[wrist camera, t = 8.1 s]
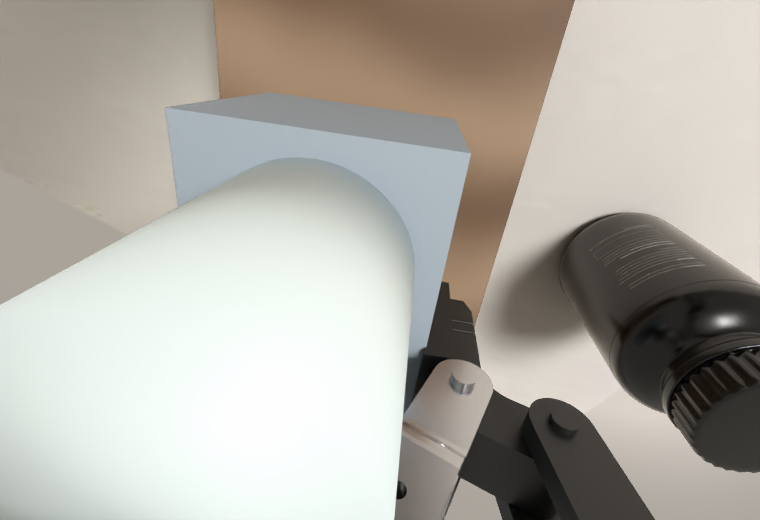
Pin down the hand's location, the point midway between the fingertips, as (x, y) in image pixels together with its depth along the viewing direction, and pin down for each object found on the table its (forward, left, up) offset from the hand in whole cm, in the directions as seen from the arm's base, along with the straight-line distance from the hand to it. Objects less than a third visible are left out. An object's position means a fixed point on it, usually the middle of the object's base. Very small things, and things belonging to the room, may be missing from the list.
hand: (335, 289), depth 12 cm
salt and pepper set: (0, 0, -2) cm, 2 cm away
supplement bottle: (+2, +15, -12) cm, 19 cm away
